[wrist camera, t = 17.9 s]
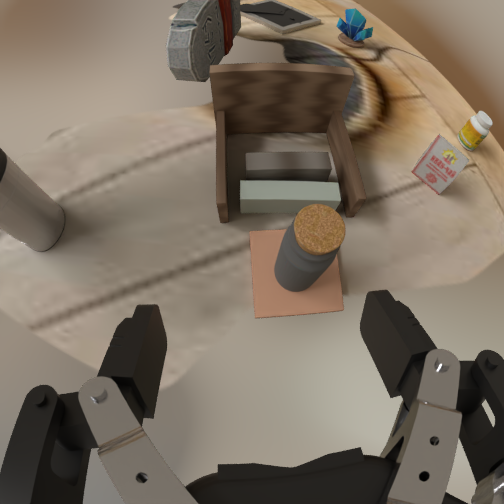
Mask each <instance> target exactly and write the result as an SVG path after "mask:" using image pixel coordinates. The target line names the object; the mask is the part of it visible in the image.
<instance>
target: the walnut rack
mask: <svg viewBox="0 0 504 504" xmlns="http://www.w3.org/2000/svg"><path fill="white" fill-rule="evenodd" d="M353 79H354V74H353V72H352V70H351V68H345V67H336V66H326V65H313V64H294V63H243V64H223V65H210V81H211V89H212V97H213V106H214V113H215V121H216V202H217V208H218V213H219V218H220V223H225V222H229V215H228V182H227V138H226V134H240V133H268V132H313V133H326V134H327V137H328V141H329V145H330V149H331V152H332V156H333V160H334V164H335V168H336V173H337V177H338V181H339V186H340V190H341V194H342V199H343V204H344V209H345V213H346V217H354V216H355V214H356V213H357V211H358V210H359V209H360V207H361V206H362V204H363V203H364V202H365V200H366V199H367V198H366V194H365V190H364V186H363V183H362V179H361V175H360V172H359V168H358V164H357V161H356V158H355V154H354V151H353V148H352V144H351V141H350V138H349V135H348V132H347V129H346V126H345V123H344V120H343V117H342V111H343V108H344V105H345V102H346V99H347V96H348V94H349V91H350V88H351V85H352V82H353Z"/></svg>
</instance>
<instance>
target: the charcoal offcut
mask: <svg viewBox="0 0 504 504" xmlns="http://www.w3.org/2000/svg"><path fill="white" fill-rule="evenodd" d="M331 170H332V167H331V163H330V158H329V154H328V152H257V153H246V181H310V182H327V179H328V177H329V175H330V172H331Z"/></svg>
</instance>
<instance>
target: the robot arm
mask: <svg viewBox="0 0 504 504" xmlns="http://www.w3.org/2000/svg"><path fill="white" fill-rule="evenodd" d="M64 221H65V217H64V212H63V210H62V208H61V207H60V206H59V205H58V204H57V203H56V202H55V201H54V200H52V199H51V198H50V197H49V196H48V195H47V194H46V193H45V192H44V191H43V190H42V189H41V188H40V187H39V186H38V185H37V184H36V183H35V182H34V181H32V180H31V179H30V178H29V177H28V176H27V175H26V174H25V173H24V172H23V171H22V170H21V169H20V168H19V167H18V166H17V165H16V164H15V163H14V162H13V161H12V160H11V159H10V158H9V157H8V156H7V155H6V154H5V153H4V152H3V151H2V149H1V148H0V229H1V230H3V231H4V232H6V233H7V234H9V235H11V236H12V237H14V238H15V239H17V240H19V241H20V242H22V243H23V244H25V245H27V246H28V247H30V248H32V249H34V250H35V251H45V250H47V249H49V248H51V247H52V246H53V245H54V244H55V243H56V241H57V240H58V239H59V237H60V235H61V233H62V230H63V227H64ZM360 331H361V335H362V338H363V340H364V342H365V344H366V346H367V348H368V350H369V352H370V354H371V356H372V358H373V361H374V363H375V365H376V367H377V369H378V371H379V373H380V375H381V378H382V380H383V382H384V384H385V386H386V388H387V391H388V393H389V395H390V398H393V397H396V396H400V395H401V396H402V398H403V401H402V403H401V405H400V408H399V411H398V414H397V417H396V420H395V423H394V426H393V428H392V431H391V434H390V437H389V439H388V442H387V444H386V446H385V448H384V449H383V451H382V453H381V455H380V457H378V456H372V455H363V453H362V450H361V447H359V448H355V449H350V450H346V451H342V452H337V453H331V454H327V455H325V456H322V457H320V458H318V459H315V460H313V461H310V462H307V463H305V464H302V465H300V466H297V467H293V468H289V467H278V466H271V465H263V464H256V463H251V464H250V463H249V464H218V472H217V473H212V474H209V475H206V476H203V477H201V478H199V479H197V480H195V481H194V482H192V483H190V484H188V485H187V486H186V487H185V486H184V485H183V484H182V483H181V481H180V480H179V479H178V478H177V476H176V475H175V474H174V473H173V471H172V470H171V469H170V467H169V466H168V465H167V463H166V462H165V460H164V459H163V458H162V456H161V455H160V453H159V452H158V451H157V449H156V448H155V446H154V445H153V444H152V442H151V440H150V439H149V437H148V436H147V434H146V433H145V432H144V430H143V428H142V423H143V418H152V419H153V418H154V413H155V407H156V402H157V396H158V391H159V386H160V380H161V375H162V370H163V365H164V361H165V356H166V351H167V337H166V332H165V329H164V325H163V321H162V318H161V314H160V310H159V307H158V305H157V304H152V305H137V307H136V309H135V312H134V314H133V317H132V318H125V319H124V320H123V321H122V322H121V323H120V324H119V325H118V326H117V328H116V330H115V333H114V335H113V339H112V340H111V342H110V347H108V350H107V352H106V355H105V357H104V360H103V362H102V365H101V368H100V370H99V373H98V375H97V377H95V378H92V379H90V380H88V381H87V382H86V383H84V384H83V385H82V387H81V388H80V391H79V392H74V393H67V394H60V395H58V394H57V392H56V391H55V390H54V389H53V388H52V387H50V386H48V385H40V386H37V387H35V388H33V389H32V390H31V391H30V392H29V393H28V394H27V396H26V398H25V400H24V403H23V405H22V408H21V410H20V413H19V416H18V418H17V421H16V424H15V427H14V430H13V433H12V435H11V438H10V441H9V445H8V448H7V451H6V454H5V457H4V461H3V464H2V468H1V472H0V504H83V496H84V488H85V481H86V475H87V469H88V463H89V457H90V452H91V449H92V448H99V450H98V455H99V457H100V459H101V462H102V464H103V465H104V467H105V469H106V471H107V473H108V475H109V477H110V479H111V480H112V482H113V484H114V486H115V487H116V489H117V491H118V493H119V494H120V496H121V498H122V499H123V501H124V502H125V504H468V503H466V502H464V501H462V500H460V499H458V498H456V497H454V496H452V495H450V494H448V493H447V492H446V488H447V485H448V481H449V478H450V474H451V470H452V466H453V462H454V457H455V453H456V448H457V443H458V438H459V439H460V441H461V443H462V446H463V448H464V451H465V453H466V456H467V459H468V461H469V464H470V467H471V469H472V472H473V475H474V478H475V481H476V483H477V487H476V490H475V494H474V495H473V497H472V499H471V503H472V504H504V360H503V358H502V357H501V356H500V355H499V354H498V353H496V352H494V351H491V350H483V351H481V352H480V353H479V354H478V356H477V358H476V359H475V361H459V360H458V359H457V357H456V356H455V355H454V354H452V353H451V352H449V351H447V350H444V349H437V347H436V346H435V344H434V343H433V341H432V340H431V338H430V337H429V336H428V334H427V333H426V331H425V330H424V328H423V327H422V326H421V325H420V323H419V321H418V320H417V319H416V318H415V316H414V314H413V313H412V312H411V310H410V309H409V308H408V307H407V306H405V305H404V304H402V303H401V302H400V301H395V300H394V298H393V297H392V295H391V294H390V293H389V291H388V290H379V291H370V292H368V293H367V296H366V300H365V304H364V309H363V313H362V318H361V322H360ZM485 399H486V401H487V402H488V404H489V406H490V408H491V410H492V412H493V414H494V416H495V426H494V427H493V426H492V424H491V422H490V420H489V418H488V416H487V414H486V412H485V410H484V408H483V406H482V403H483V402H484V400H485Z"/></svg>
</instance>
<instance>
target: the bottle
mask: <svg viewBox="0 0 504 504" xmlns="http://www.w3.org/2000/svg"><path fill="white" fill-rule="evenodd" d="M344 237H345V224H344V221H343V219H342V218H341V216H340V215H339V214H338V213H337V212H336V211H335V210H334V209H332V208H331V207H329V206H326V205H323V204H312V205H308V206H306V207H304V208H303V209H301V210H300V211H299V213H298V214H297V216H296V218H295V219H294V220H293V222H292V224H291V226H289V228H288V229H287V230H286V232H285V234H284V236H283V239H282V242H281V245H280V249H279V252H278V255H277V259H276V263H275V267H274V273H275V277H276V280H277V282H278V283H279V284H280V285H281V286H282V287H283V288H284V289H286V290H288V291H292V292H300V291H303V290H306V289H307V288H309V287H310V286H311V285H312V284H313V283H314V282H315V281H316V280H317V279H318V278H319V277H320V276H321V275H322V274H323V273H324V272H325V271H326V270H327V268H328V267H329V266H330V265H331V264H332V262H333V261H334V259H335V257H336V254H337V251H338V250H339V248H340V245H341V243H342V242H343V240H344Z"/></svg>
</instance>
